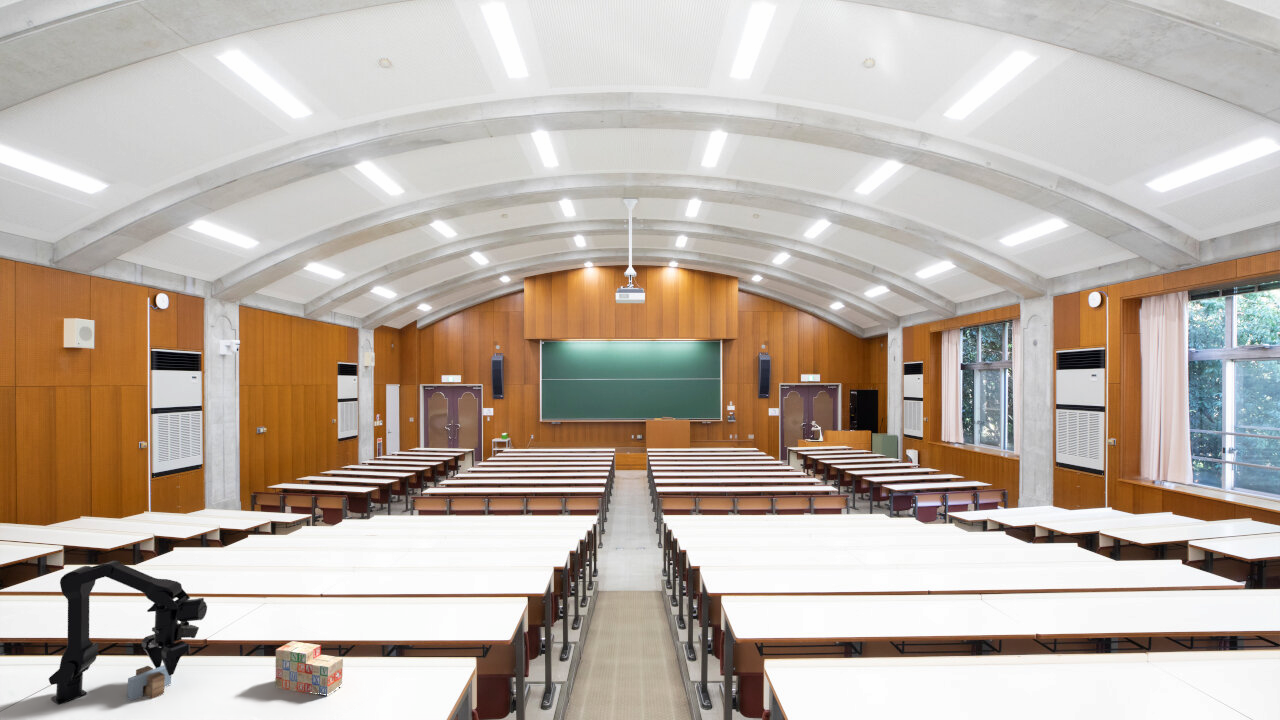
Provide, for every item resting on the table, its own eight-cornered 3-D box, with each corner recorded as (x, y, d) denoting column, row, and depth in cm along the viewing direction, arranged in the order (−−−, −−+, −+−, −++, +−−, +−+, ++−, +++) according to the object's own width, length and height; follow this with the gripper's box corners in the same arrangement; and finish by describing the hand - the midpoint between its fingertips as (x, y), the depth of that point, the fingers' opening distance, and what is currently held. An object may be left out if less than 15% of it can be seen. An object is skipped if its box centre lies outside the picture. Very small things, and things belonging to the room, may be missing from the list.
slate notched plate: (131, 700, 170) (132, 680, 171) (127, 697, 172) (128, 678, 172) (170, 684, 179) (171, 666, 179) (166, 682, 181) (167, 664, 181)
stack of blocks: (342, 687, 178) (343, 648, 178) (326, 697, 172) (327, 657, 172) (291, 677, 184) (292, 640, 184) (274, 687, 178) (275, 648, 178)
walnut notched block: (135, 688, 177) (136, 669, 177) (147, 684, 180) (147, 665, 180) (152, 698, 171) (152, 679, 172) (163, 693, 174) (164, 674, 174)
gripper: (209, 619, 182) (207, 667, 182) (182, 608, 191) (180, 654, 190) (168, 632, 172) (166, 683, 172) (141, 620, 181) (140, 668, 181)
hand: (164, 671), depth 179 cm, fingers open, 9 cm apart
